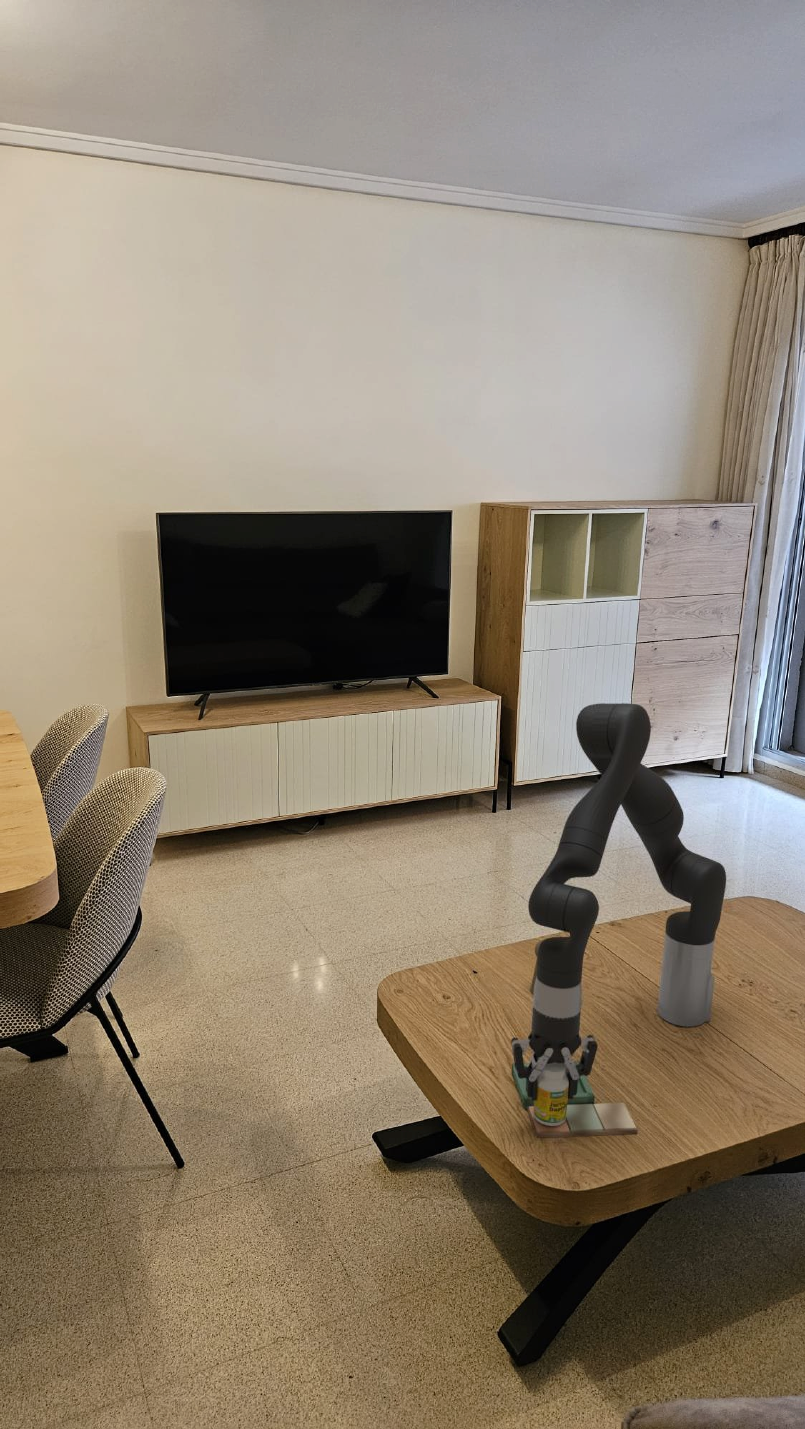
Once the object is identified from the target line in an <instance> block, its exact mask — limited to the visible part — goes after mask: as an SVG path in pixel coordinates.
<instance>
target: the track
mask: <svg viewBox="0 0 805 1429" xmlns="http://www.w3.org/2000/svg"><path fill="white" fill-rule="evenodd" d="M526 1109H527V1113H528V1117H529V1118H530V1122H531V1125H532V1127H533V1130H534V1134H535V1137H536V1138H537V1139H538V1138H543V1139H544V1138H563V1137H564V1138H565V1137H586V1136H588V1137H589V1136H610V1135H611V1136H613V1135H614V1136H615V1135H637V1134H638V1131H639V1130H638V1128H637V1126H636V1124H635V1122H634V1120H633V1117H632V1116H631V1114H630V1113H629V1110H628V1107H627V1106H626V1104H625V1102H611V1103H610V1102H609V1103H594V1104H578V1105H567V1113H566V1119H565V1121H564V1122H563V1123H562V1124H560V1125H557V1126H547V1125H544V1124H542V1123H540V1122H538V1121H537V1120H536V1119H535V1117H534V1106H529V1107H527V1108H526Z"/></svg>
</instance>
